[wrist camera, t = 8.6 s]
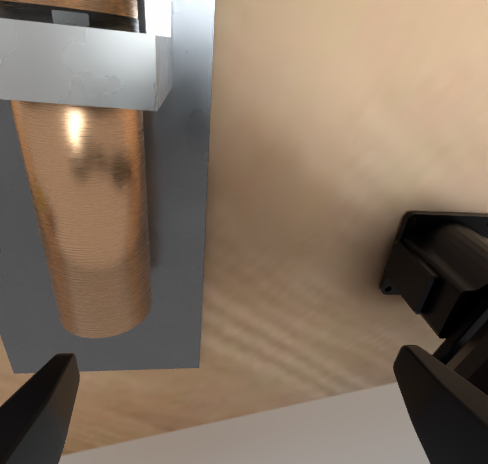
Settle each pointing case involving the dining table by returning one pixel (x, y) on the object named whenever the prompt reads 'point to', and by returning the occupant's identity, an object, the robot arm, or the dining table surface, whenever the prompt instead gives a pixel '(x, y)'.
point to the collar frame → (89, 62)
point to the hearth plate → (159, 223)
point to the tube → (88, 187)
